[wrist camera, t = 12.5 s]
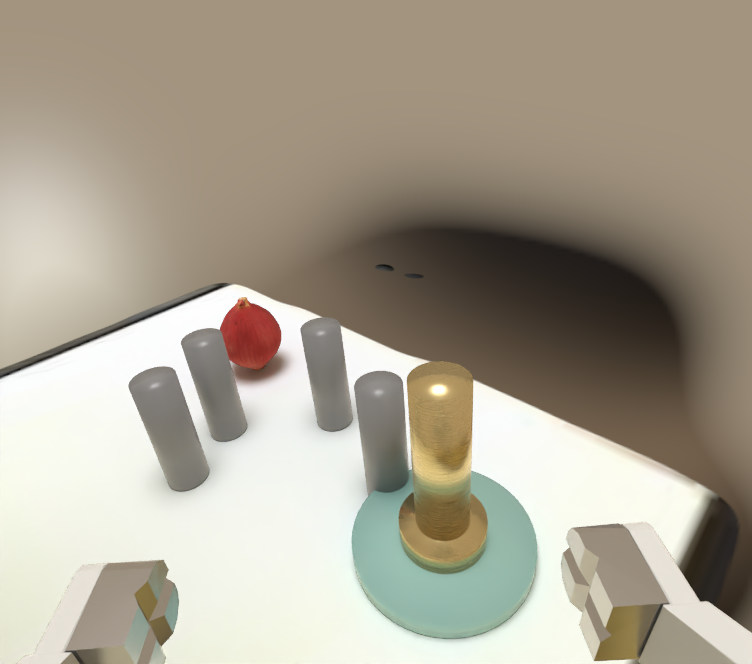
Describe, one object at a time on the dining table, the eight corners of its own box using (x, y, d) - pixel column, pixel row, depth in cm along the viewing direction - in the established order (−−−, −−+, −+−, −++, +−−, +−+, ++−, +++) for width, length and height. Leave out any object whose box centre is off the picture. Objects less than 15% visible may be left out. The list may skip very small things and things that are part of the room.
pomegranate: (217, 373, 49) (195, 302, 45) (262, 347, 53) (246, 279, 49) (253, 392, 46) (233, 317, 42) (298, 363, 50) (284, 291, 46)
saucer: (354, 647, 26) (352, 635, 25) (353, 485, 35) (351, 473, 35) (564, 628, 26) (567, 615, 25) (506, 471, 35) (507, 459, 35)
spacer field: (148, 527, 33) (100, 426, 29) (193, 421, 43) (162, 332, 38) (411, 502, 33) (405, 397, 29) (398, 402, 43) (391, 311, 38)
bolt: (404, 578, 28) (390, 419, 22) (396, 503, 32) (383, 356, 26) (497, 569, 28) (507, 408, 22) (475, 496, 32) (480, 346, 26)
